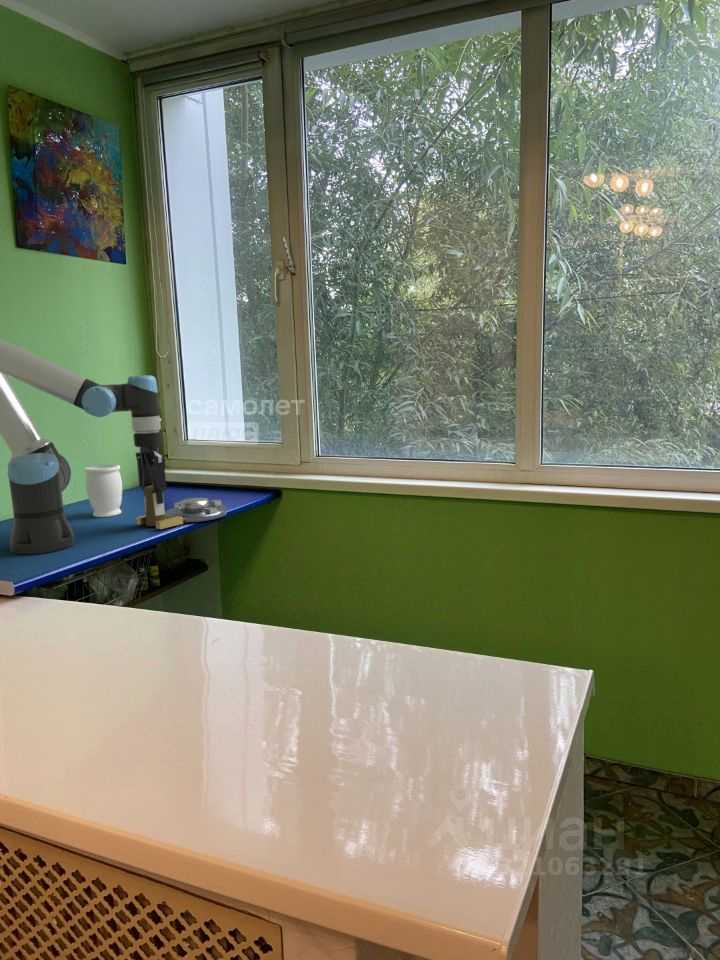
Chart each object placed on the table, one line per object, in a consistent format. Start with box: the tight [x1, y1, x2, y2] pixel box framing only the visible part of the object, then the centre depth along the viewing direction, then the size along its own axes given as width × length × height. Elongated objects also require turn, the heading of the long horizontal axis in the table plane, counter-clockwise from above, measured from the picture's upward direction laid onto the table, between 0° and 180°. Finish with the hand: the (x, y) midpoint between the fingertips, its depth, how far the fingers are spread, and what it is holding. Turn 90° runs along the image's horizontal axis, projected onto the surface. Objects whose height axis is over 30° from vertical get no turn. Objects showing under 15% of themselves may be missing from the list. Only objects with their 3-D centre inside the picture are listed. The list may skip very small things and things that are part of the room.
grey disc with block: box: [135, 497, 227, 530], centre depth 205 cm, size 25×18×4 cm
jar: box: [83, 463, 123, 518], centre depth 216 cm, size 11×10×15 cm
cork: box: [143, 484, 167, 527], centre depth 199 cm, size 6×6×11 cm
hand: (155, 513), depth 199 cm, fingers closed on cork, 5 cm apart
